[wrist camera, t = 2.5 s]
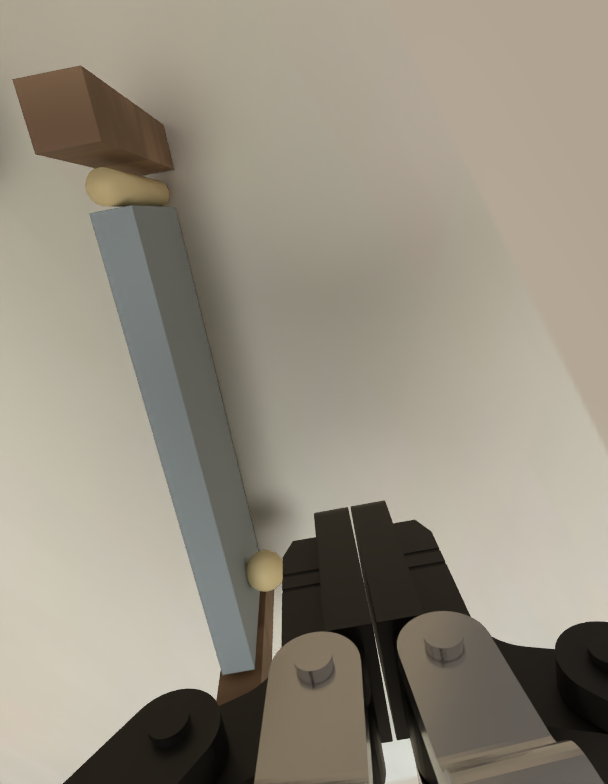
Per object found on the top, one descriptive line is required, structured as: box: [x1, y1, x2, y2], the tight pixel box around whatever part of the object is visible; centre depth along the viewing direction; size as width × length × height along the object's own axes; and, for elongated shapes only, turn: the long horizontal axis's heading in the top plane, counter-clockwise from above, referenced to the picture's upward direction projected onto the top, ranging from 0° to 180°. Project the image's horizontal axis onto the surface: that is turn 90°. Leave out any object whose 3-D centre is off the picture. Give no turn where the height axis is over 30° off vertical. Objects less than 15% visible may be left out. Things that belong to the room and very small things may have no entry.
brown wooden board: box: [12, 66, 274, 706], centre depth 20 cm, size 21×2×9 cm, turn 10°
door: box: [86, 167, 283, 675], centre depth 21 cm, size 18×3×6 cm, turn 10°
